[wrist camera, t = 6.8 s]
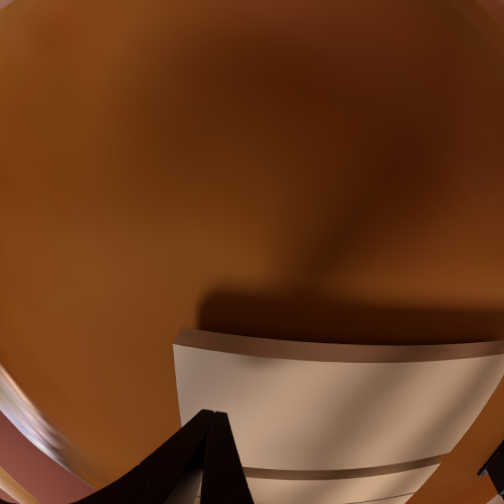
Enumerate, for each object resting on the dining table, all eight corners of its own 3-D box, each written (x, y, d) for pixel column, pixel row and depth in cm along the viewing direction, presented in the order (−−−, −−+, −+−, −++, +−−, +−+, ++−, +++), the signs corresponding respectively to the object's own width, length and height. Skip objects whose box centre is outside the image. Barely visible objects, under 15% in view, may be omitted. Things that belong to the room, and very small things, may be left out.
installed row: (439, 442, 13) (446, 456, 11) (390, 501, 15) (393, 514, 13) (192, 443, 14) (186, 461, 12) (198, 501, 16) (195, 514, 14)
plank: (503, 340, 10) (515, 351, 9) (444, 439, 12) (449, 452, 11) (182, 327, 11) (173, 344, 10) (191, 441, 13) (186, 457, 12)
